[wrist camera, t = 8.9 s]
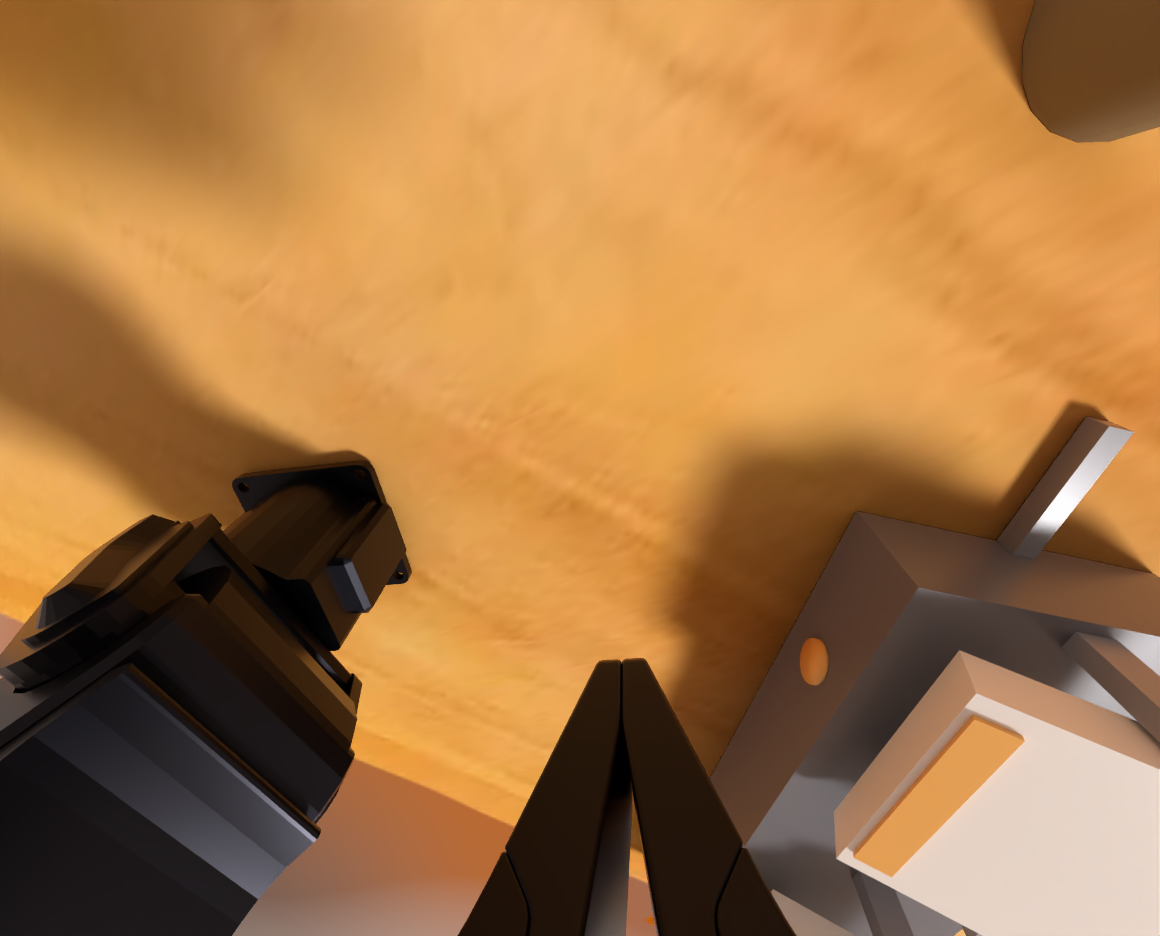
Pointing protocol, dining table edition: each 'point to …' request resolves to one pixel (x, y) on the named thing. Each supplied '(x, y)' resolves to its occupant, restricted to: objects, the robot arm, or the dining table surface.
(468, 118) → the dining table surface
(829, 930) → the white rocker
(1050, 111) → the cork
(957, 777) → the orange striped rocker plate
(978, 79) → the dining table surface
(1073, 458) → the rocker switch box
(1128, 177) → the dining table surface
